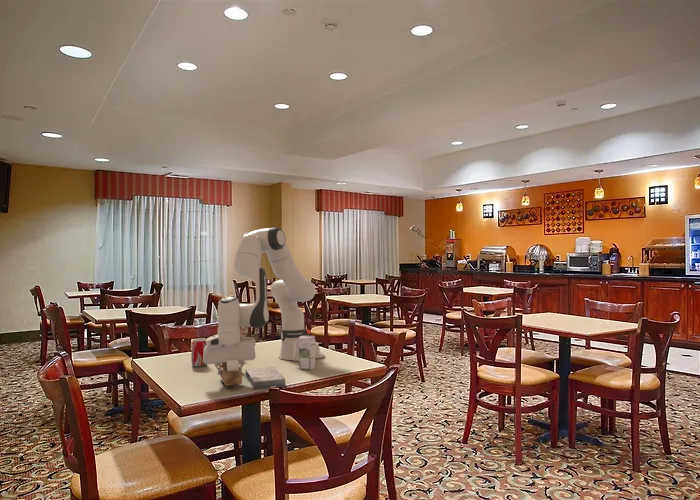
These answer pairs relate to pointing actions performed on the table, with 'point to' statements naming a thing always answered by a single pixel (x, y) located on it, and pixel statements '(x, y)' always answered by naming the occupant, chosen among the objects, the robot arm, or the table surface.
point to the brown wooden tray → (230, 375)
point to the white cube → (232, 365)
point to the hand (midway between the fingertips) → (229, 373)
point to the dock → (264, 377)
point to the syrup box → (306, 352)
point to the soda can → (198, 352)
